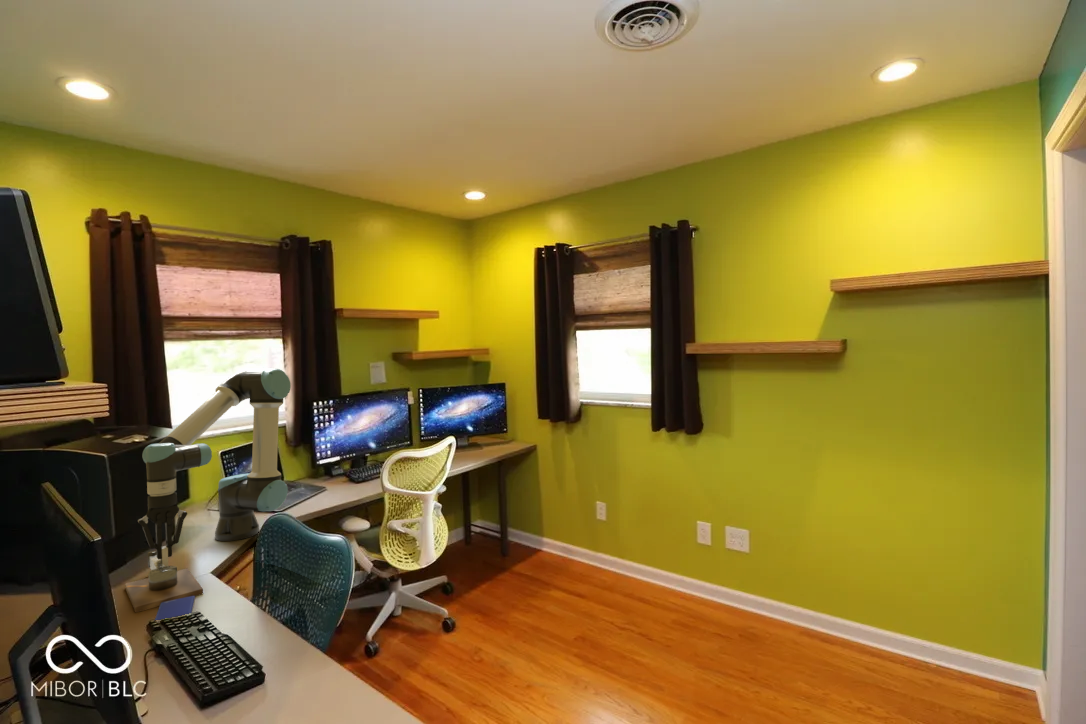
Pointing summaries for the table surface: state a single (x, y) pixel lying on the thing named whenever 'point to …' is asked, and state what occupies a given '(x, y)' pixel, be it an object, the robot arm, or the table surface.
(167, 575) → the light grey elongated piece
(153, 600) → the base plate
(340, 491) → the table surface
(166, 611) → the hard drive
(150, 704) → the table surface
